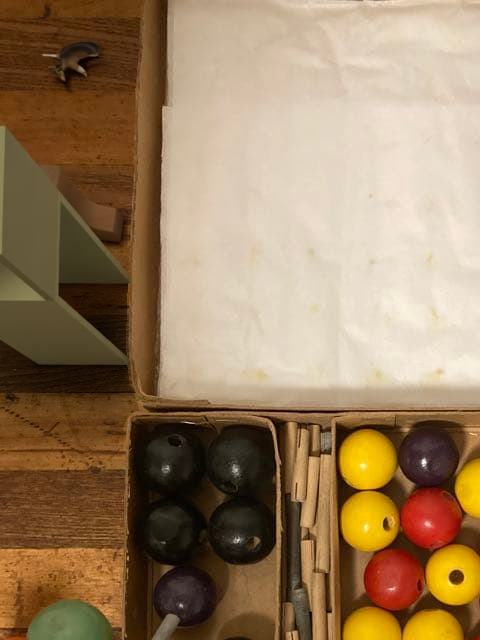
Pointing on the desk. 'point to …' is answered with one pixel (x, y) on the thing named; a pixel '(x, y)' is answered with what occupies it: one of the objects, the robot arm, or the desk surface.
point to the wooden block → (86, 206)
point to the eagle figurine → (73, 57)
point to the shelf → (47, 267)
